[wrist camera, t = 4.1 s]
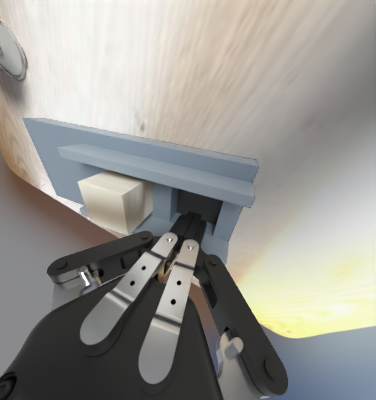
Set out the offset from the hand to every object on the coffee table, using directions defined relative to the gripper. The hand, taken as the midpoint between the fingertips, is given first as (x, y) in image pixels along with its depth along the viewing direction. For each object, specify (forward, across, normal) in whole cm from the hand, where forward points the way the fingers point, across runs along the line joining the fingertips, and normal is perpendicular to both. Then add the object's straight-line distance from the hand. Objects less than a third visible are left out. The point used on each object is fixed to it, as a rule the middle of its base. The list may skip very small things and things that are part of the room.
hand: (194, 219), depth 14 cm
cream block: (+2, +9, 0) cm, 9 cm away
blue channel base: (+4, +11, 0) cm, 12 cm away
